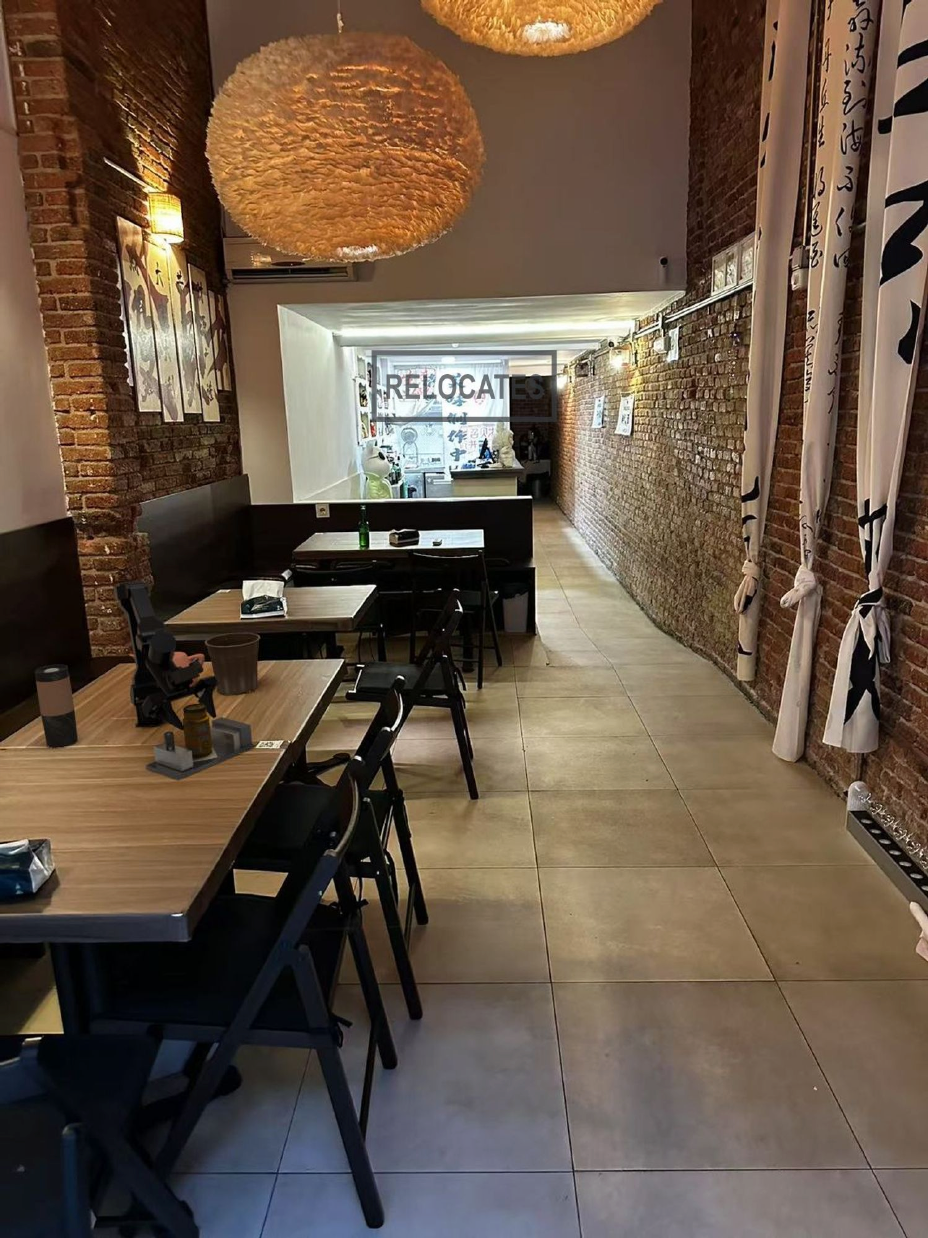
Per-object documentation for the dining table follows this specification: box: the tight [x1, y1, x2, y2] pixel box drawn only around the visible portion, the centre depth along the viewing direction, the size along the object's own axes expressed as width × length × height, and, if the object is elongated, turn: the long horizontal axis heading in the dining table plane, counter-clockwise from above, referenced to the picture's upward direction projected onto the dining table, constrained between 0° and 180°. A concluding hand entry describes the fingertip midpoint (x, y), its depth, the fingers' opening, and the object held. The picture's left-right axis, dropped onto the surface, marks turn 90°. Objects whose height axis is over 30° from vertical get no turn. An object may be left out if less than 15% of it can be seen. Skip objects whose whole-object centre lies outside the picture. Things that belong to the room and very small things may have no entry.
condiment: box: [182, 703, 217, 762], centre depth 186 cm, size 7×8×12 cm
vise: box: [145, 716, 255, 781], centre depth 187 cm, size 22×12×6 cm, turn 146°
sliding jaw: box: [153, 730, 193, 771], centre depth 181 cm, size 3×10×8 cm, turn 56°
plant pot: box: [204, 632, 261, 695], centre depth 239 cm, size 16×16×16 cm
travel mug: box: [34, 664, 78, 749], centre depth 198 cm, size 8×8×20 cm
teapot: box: [128, 651, 206, 687], centre depth 243 cm, size 22×15×12 cm
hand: (199, 723), depth 185 cm, fingers open, 9 cm apart
